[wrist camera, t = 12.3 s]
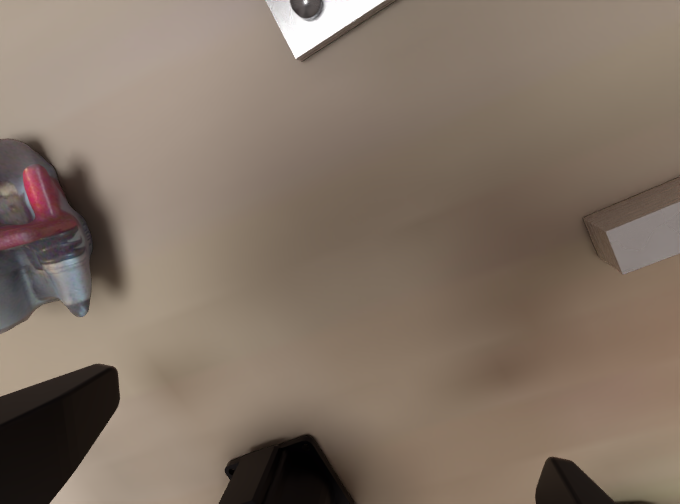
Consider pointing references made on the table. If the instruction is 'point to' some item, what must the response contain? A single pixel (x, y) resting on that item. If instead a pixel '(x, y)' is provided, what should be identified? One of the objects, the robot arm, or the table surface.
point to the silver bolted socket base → (320, 21)
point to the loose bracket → (638, 228)
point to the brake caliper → (38, 239)
